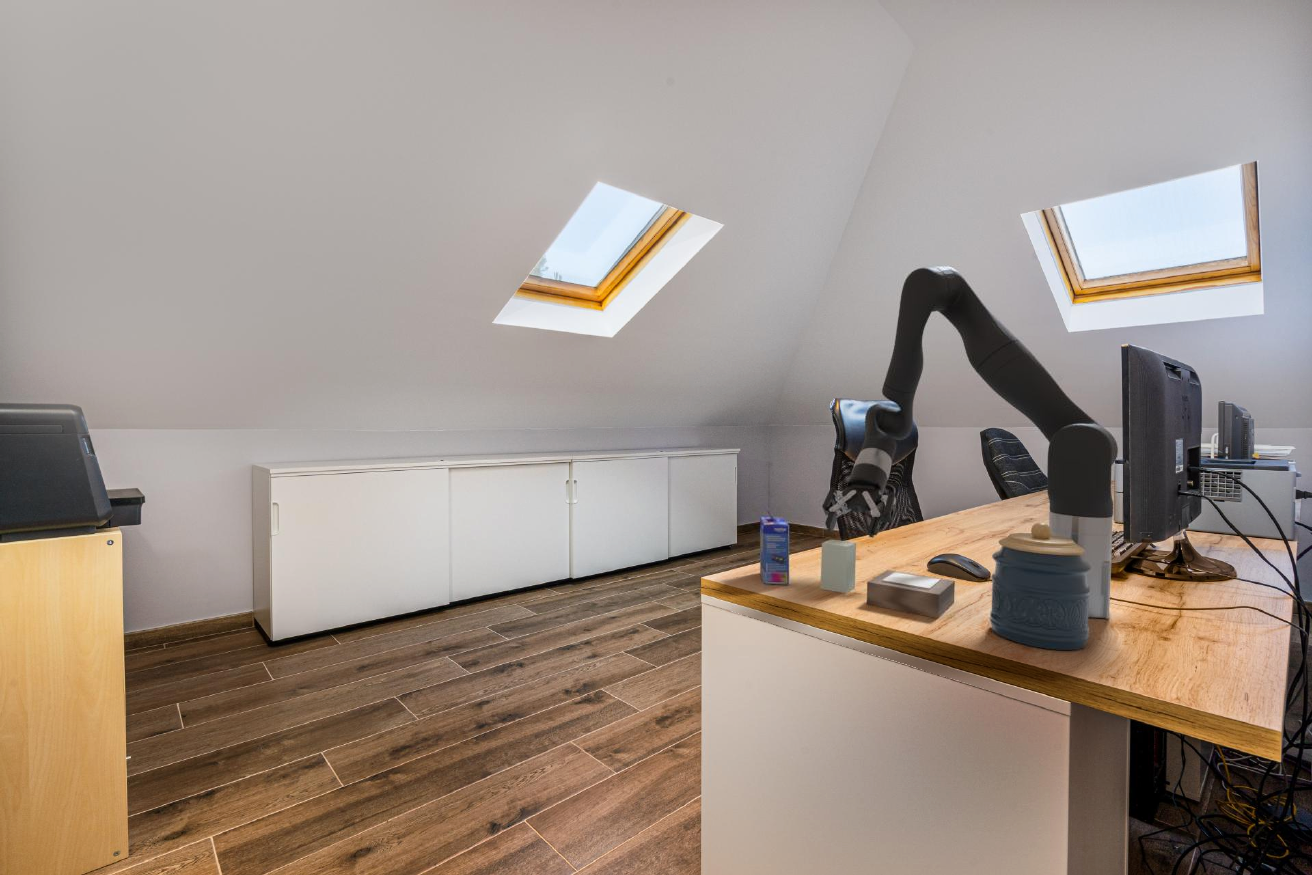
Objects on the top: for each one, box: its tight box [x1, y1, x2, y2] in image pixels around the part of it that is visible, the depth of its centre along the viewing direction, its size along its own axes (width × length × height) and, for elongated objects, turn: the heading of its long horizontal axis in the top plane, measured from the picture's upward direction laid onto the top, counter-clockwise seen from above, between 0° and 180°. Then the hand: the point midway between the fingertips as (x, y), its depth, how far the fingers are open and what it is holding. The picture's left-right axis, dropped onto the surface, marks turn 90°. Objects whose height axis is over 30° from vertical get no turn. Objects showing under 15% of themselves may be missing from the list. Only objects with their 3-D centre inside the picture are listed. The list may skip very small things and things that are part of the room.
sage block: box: [820, 539, 857, 594], centre depth 119 cm, size 5×5×9 cm
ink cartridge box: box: [759, 507, 790, 586], centre depth 125 cm, size 10×6×14 cm, turn 174°
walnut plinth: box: [866, 569, 956, 619], centre depth 109 cm, size 12×12×4 cm
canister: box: [989, 522, 1092, 651], centre depth 93 cm, size 13×13×18 cm
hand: (849, 532), depth 123 cm, fingers open, 8 cm apart
